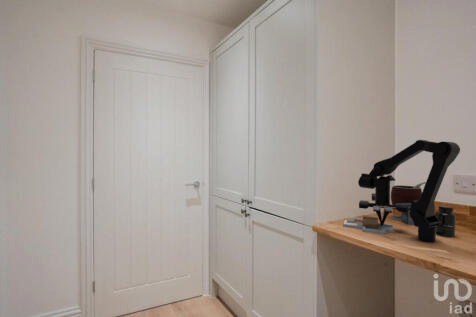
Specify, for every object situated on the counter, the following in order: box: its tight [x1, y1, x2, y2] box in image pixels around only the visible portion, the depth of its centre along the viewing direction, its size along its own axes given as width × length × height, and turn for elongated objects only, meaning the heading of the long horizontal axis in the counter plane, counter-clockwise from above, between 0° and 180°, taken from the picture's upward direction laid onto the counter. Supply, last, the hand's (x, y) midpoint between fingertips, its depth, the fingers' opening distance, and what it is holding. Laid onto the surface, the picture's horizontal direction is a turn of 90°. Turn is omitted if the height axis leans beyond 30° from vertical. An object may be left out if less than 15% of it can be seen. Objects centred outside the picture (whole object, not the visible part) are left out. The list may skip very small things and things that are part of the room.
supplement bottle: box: [435, 205, 457, 238], centre depth 115 cm, size 7×7×12 cm
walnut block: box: [362, 216, 379, 230], centre depth 122 cm, size 5×6×4 cm
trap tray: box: [342, 218, 395, 235], centre depth 122 cm, size 20×19×2 cm
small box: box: [400, 203, 415, 226], centre depth 129 cm, size 11×6×10 cm, turn 84°
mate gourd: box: [390, 181, 426, 222], centre depth 141 cm, size 16×14×20 cm
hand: (381, 225), depth 120 cm, fingers closed
